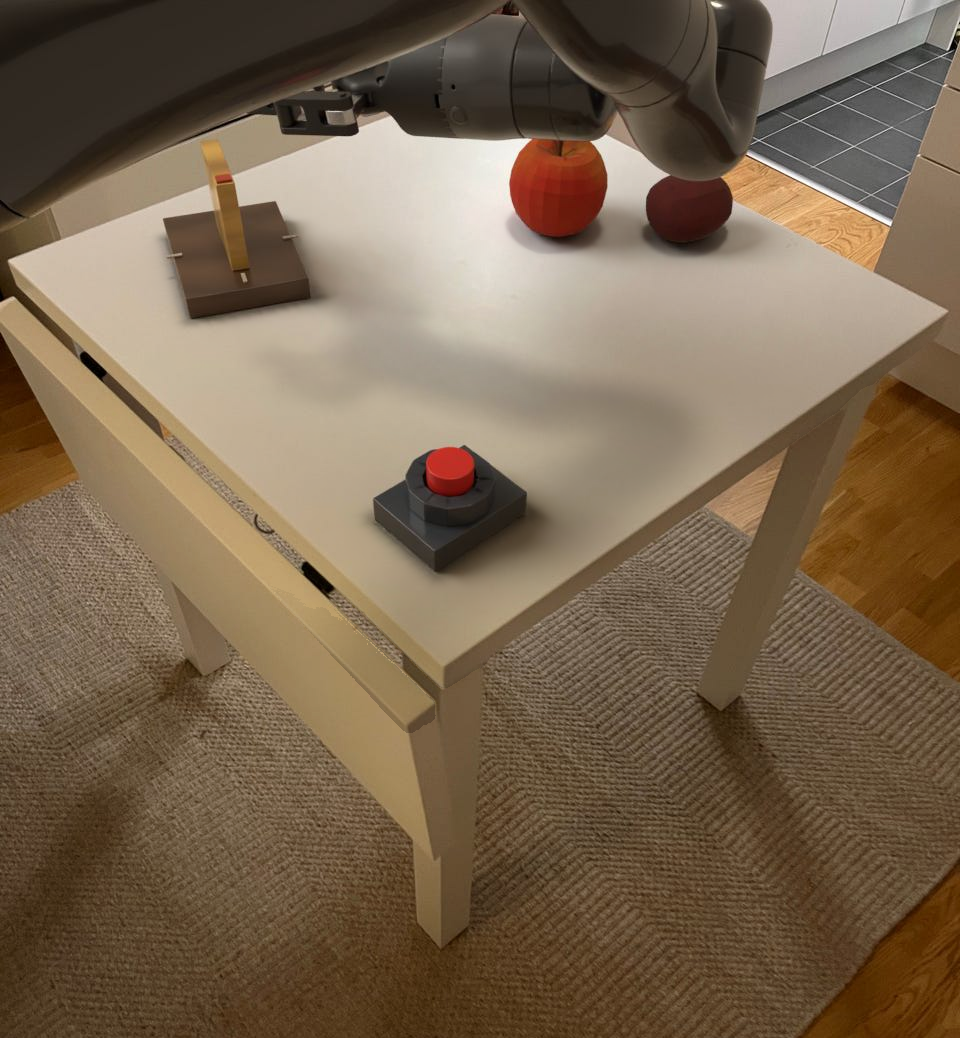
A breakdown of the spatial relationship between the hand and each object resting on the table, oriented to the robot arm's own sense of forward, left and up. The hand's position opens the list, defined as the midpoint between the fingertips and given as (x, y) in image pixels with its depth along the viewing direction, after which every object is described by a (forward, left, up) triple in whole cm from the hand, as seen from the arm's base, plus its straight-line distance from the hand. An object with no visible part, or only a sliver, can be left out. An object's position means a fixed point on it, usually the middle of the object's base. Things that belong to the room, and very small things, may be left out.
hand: (271, 71), depth 74 cm
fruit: (+24, +13, -21) cm, 35 cm away
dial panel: (-7, +7, -20) cm, 23 cm away
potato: (+37, +11, -21) cm, 44 cm away
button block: (+12, -27, -20) cm, 36 cm away
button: (+12, -27, -17) cm, 34 cm away
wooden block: (-7, +7, -18) cm, 21 cm away
